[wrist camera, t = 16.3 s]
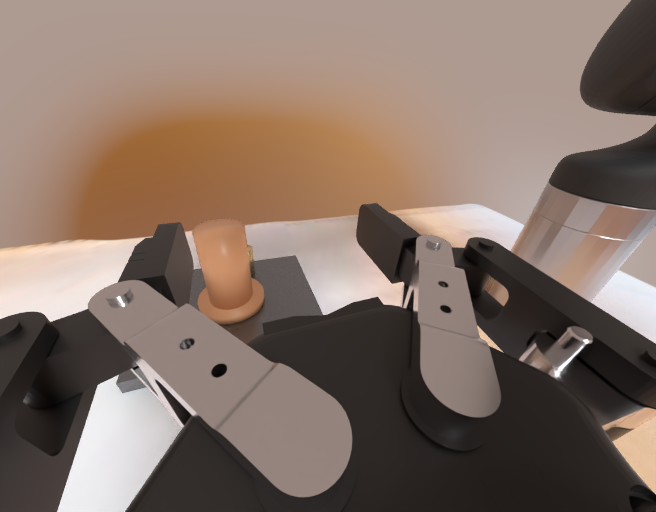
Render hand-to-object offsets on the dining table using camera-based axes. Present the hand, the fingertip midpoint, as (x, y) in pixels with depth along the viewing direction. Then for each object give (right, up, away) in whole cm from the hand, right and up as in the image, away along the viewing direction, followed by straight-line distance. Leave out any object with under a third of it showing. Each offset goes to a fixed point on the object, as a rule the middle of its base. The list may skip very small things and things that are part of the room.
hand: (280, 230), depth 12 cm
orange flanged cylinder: (-10, -7, +20) cm, 23 cm away
